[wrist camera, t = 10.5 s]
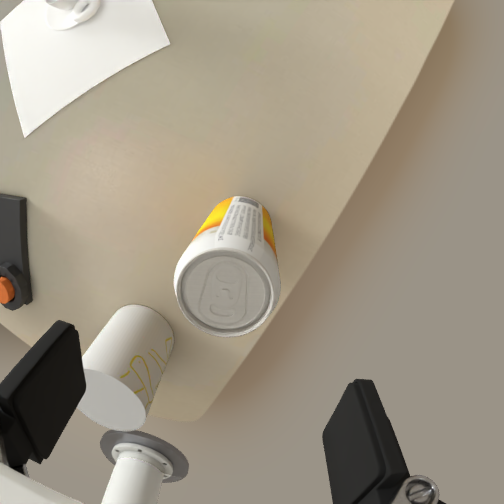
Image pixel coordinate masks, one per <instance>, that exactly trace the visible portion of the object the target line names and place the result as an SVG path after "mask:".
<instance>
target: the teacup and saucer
mask: <svg viewBox="0 0 504 504" xmlns="http://www.w3.org/2000/svg"><path fill="white" fill-rule="evenodd" d="M44 3H45V4H46V5H47V6H46V9H45V15H44V18H45V23H46V25H47V26H48V27H49V28H50V29H51V30H53V31H56V32H63V31H67V30H70V29H72V28H74V27H76V26H77V25H79V24H80V23H84V22H86V21H88V20H90V19H91V18H92V17H93V16H94V15H95V14H96V13H97V12H98V10H99V9H100V6H101V0H44Z"/></svg>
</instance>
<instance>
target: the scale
mask: <svg viewBox="0 0 504 504" xmlns="http://www.w3.org/2000/svg"><path fill="white" fill-rule="evenodd" d="M1 277H6V278H8V279H9V280H10V281H11V283H12V285H13V287H14V290H15V295H14V298H13V299H11V300H10V301H9V302H8V303H6V304H2V303H1V304H2V305H3V306H4V307H5V308H8V309H10V310H12V311H13V310H16V309H18V308H20V307H21V306H22V305H23V304H26V305H28V304H29V303H30V302H31V301H32V292H31V284H30V274H29V263H28V249H27V224H26V198H23V197H17V196H11V195H5V194H0V278H1Z"/></svg>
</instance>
